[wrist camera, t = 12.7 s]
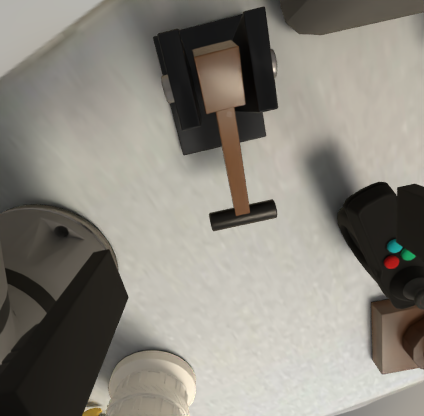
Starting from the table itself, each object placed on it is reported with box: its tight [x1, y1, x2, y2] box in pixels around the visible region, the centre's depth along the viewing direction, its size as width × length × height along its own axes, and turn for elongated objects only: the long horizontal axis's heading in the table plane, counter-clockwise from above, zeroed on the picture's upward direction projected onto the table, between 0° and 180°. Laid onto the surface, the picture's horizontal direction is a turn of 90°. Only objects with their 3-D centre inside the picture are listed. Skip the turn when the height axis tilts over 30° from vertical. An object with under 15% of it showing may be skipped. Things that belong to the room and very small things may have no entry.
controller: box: [337, 182, 424, 310], centre depth 25 cm, size 4×12×10 cm, turn 31°
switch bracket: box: [153, 7, 278, 155], centre depth 19 cm, size 10×8×13 cm
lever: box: [192, 40, 277, 231], centre depth 17 cm, size 12×5×2 cm, turn 13°
